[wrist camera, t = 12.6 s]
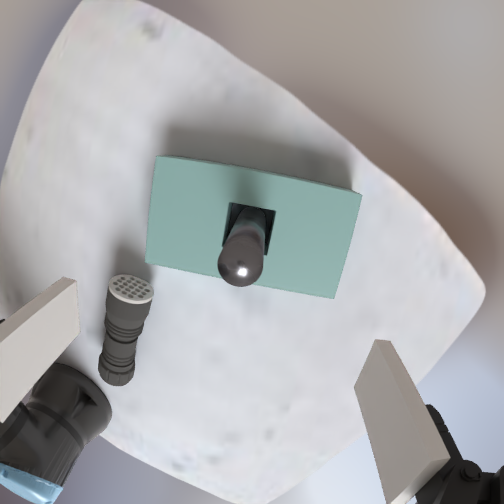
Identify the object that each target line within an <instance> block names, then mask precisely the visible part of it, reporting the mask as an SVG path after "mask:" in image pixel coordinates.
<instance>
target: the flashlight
mask: <svg viewBox="0 0 504 504" xmlns="http://www.w3.org/2000/svg"><path fill="white" fill-rule="evenodd" d="M153 294H154V290H153V288H152V286H151V285H150V284H149V283H148V282H147V281H145V280H142V279H140V278H138V277H135V276H133V275H124V274H123V275H117V276H114V277H112V278H111V279H110V281H109V286H108V292H107V298H106V311H107V312H106V316H105V322H104V323H105V327H106V335H105V341H104V343H103V350H102V353H101V354H100V356H99V363H98V371H99V373H100V376H101V378H102V379H103V380H104V381H105V382H106V383H108V384H110V385H113V386H123V385H126V384H127V383H128V382H129V381H130V380H131V379H132V378H133V375H134V370H135V361H134V359H135V358H134V357H135V353H136V350H135V348H136V343H137V339H138V336H139V335H140V334H141V333H142V330H143V326H144V321H145V319H146V317H147V316H148V314H149V310H150V306H151V302H152V298H153Z"/></svg>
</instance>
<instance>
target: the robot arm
mask: <svg viewBox="0 0 504 504" xmlns="http://www.w3.org/2000/svg"><path fill="white" fill-rule="evenodd" d="M80 333H81V331H80V321H79V310H78V296H77V281H76V280H72V279H69V278H65V277H62V278H61V279H60V280H58V281H57V282H55V283H54V284H53V285H51V286H50V287H48V288H47V289H46V290H44V291H43V292H42V293H40V294H39V295H38V296H36V297H35V298H33V299H32V300H31V301H29V302H28V303H27V304H25V305H24V306H23V307H21V308H20V309H19V310H18V311H16V312H15V313H14V314H12V315H11V316H10V317H9V318H7V319H6V320H5V319H2V320H0V483H1V484H2V485H3V486H5V487H6V488H8V489H9V490H11V491H12V492H14V493H16V494H18V495H19V496H21V497H23V498H25V499H27V500H29V501H31V502H33V503H36V504H53V503H54V501H55V500H56V498H57V497H58V495H59V494H60V492H61V491H63V486H64V484H65V483H66V481H67V478H68V477H69V475H70V473H71V471H72V469H73V467H74V465H75V463H76V461H77V459H78V457H79V456H80V453H81V451H82V450H83V448H84V446H85V445H86V444H88V443H89V442H90V441H91V440H93V439H94V438H95V437H97V436H98V435H99V434H100V433H102V432H103V431H104V430H105V429H106V427H107V426H108V424H109V422H110V420H111V417H112V411H111V407H110V405H109V402H108V401H107V399H106V397H105V396H104V394H103V393H102V392H101V391H100V389H99V388H98V387H97V386H96V385H95V384H94V383H93V382H92V381H91V380H89V379H88V378H87V377H86V376H84V375H83V374H81V373H80V372H78V371H76V370H75V369H73V368H71V367H68V366H66V365H62V364H57V363H53V362H54V361H55V360H56V359H57V358H58V357H59V356H60V355H61V353H62V352H63V351H64V350H65V349H66V348H67V347H68V346H69V345H70V343H71V342H72V341H73V340H74V339H75V338H76V337H77V336H78V335H79V334H80ZM33 385H34V386H33ZM32 387H33V389H32V392H31V395H30V399H29V401H28V403H27V404H26V406H25V405H24V404H23V403H22V401H21V400H22V399H23V397H24V396H25V395H26V394H27V393H28V391H29V390H30V389H31V388H32ZM354 389H355V393H356V396H357V399H358V402H359V406H360V409H361V412H362V416H363V419H364V422H365V426H366V429H367V433H368V436H369V440H370V443H371V447H372V450H373V454H374V458H375V461H376V465H377V469H378V473H379V477H380V480H381V484H382V488H383V492H384V496H385V500H386V504H406V503H407V502H408V501H409V500H410V499H411V498H412V497H414V496H416V499H417V503H416V504H504V466H502V467H501V468H500V469H499V470H498V471H497V473H488V472H482V470H481V469H480V468H479V466H478V465H477V464H475V463H474V462H472V461H469V460H463V458H462V456H461V454H460V452H459V450H458V448H457V446H456V444H455V442H454V440H453V438H452V436H451V434H450V432H449V433H448V428H447V426H446V425H444V421H443V419H442V417H441V415H440V413H439V412H438V411H437V410H436V409H435V408H434V407H433V406H432V405H430V404H429V405H425V404H424V402H423V400H422V398H421V396H420V394H419V393H418V391H417V389H416V387H415V385H414V383H413V381H412V379H411V377H410V375H409V374H408V372H407V370H406V368H405V366H404V364H403V363H402V361H401V359H400V357H399V355H398V354H397V352H396V350H395V348H394V347H393V345H392V343H391V341H386V340H377V339H375V341H374V343H373V346H372V348H371V350H370V353H369V355H368V357H367V360H366V362H365V364H364V366H363V369H362V371H361V373H360V375H359V377H358V379H357V382H356V384H355V386H354Z"/></svg>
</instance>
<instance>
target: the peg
mask: <svg viewBox="0 0 504 504" xmlns="http://www.w3.org/2000/svg"><path fill="white" fill-rule="evenodd" d="M265 228H266V218H265V215H264V213H263V212H262V211H261V210H260V209H258V208H256V207H247V208H245V209H243V210H242V211H241V212H240V214H239V216H238V218H237V220H236V222H235V224H234V226H233V228H232V230H231V232H230V234H229V236H228V239H227V241H226V243H225V245H224V247H223V249H222V251H221V253H220V255H219V258H218V262H217V267H218V271H219V274H220V275H221V277H222V278H223V279H224V280H225V281H226V282H227V283H229V284H231V285H233V286H238V287H244V286H248V285H251V284H253V283H254V282H256V281H257V280H258V279H259V277H260V276H261V274H262V271H263V262H264V245H265Z"/></svg>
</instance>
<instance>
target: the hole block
mask: <svg viewBox="0 0 504 504" xmlns="http://www.w3.org/2000/svg"><path fill="white" fill-rule="evenodd" d="M361 199H362V195H361V194H359V193H357V192H355V191H353V190H350V189H346V188H342V187H337V186H333V185H329V184H325V183H320V182H316V181H311V180H307V179H302V178H298V177H293V176H288V175H283V174H278V173H273V172H268V171H263V170H258V169H252V168H247V167H241V166H236V165H230V164H224V163H218V162H212V161H205V160H199V159H192V158H185V157H178V156H171V155H164V156H156V161H155V168H154V176H153V183H152V191H151V200H150V209H149V218H148V229H147V240H146V253H145V263H150V264H155V265H159V266H164V267H169V268H173V269H178V270H183V271H188V272H193V273H197V274H202V275H207V276H212V277H217V278H222V277H221V275H220V274H219V271H218V267H217V262H218V258H219V255H220V253H221V251H222V249H223V247H224V245H225V243H226V241H227V239H228V237H227V232H228V226H229V221H230V215H231V209H232V203H238V204H244V205H249V206H254V207H259V208H264V209H270V210H274V215H273V219H272V224H271V229H270V234H269V239H268V244H265V245H264V262H263V271H262V274H261V276H260V277H259V279H258V280H257V281H256V282H254V283H253V285H258V286H264V287H269V288H274V289H280V290H285V291H291V292H296V293H302V294H308V295H313V296H319V297H325V298H331V299H334V297H335V294H336V291H337V288H338V284H339V281H340V278H341V274H342V271H343V267H344V264H345V260H346V257H347V253H348V250H349V246H350V242H351V239H352V235H353V231H354V227H355V223H356V219H357V215H358V211H359V207H360V203H361ZM222 279H223V278H222Z"/></svg>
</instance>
